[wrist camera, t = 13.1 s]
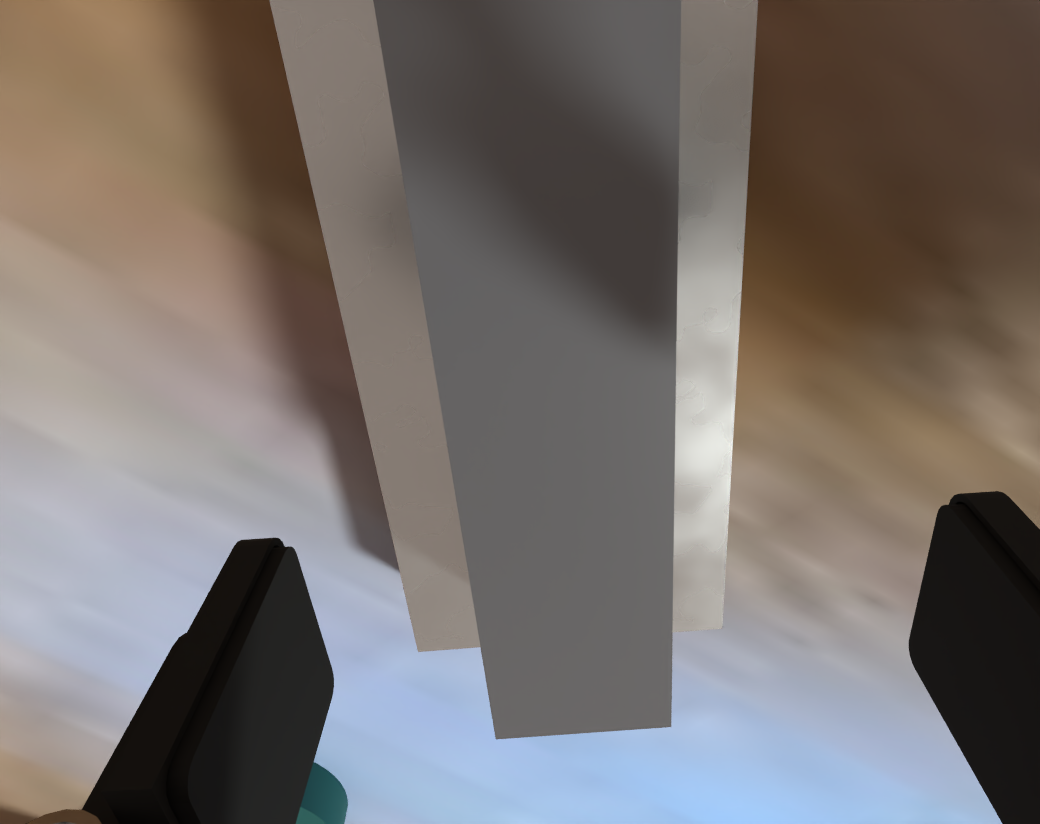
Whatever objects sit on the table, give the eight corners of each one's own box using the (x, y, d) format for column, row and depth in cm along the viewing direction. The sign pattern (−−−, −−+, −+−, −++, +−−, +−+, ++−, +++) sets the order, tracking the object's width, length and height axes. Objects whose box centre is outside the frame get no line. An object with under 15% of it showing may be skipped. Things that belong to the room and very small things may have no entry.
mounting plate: (729, -215, 16) (772, -255, 13) (701, 566, 27) (722, 628, 24) (271, -161, 16) (225, -190, 14) (426, 588, 27) (418, 651, 25)
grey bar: (617, -94, 16) (683, -143, 10) (631, 547, 25) (671, 726, 19) (413, -71, 16) (355, -107, 10) (499, 558, 25) (495, 739, 19)
